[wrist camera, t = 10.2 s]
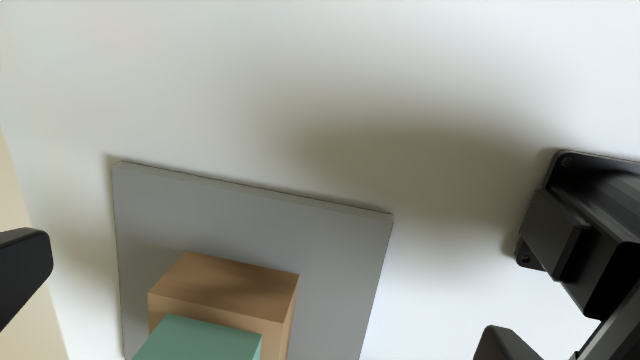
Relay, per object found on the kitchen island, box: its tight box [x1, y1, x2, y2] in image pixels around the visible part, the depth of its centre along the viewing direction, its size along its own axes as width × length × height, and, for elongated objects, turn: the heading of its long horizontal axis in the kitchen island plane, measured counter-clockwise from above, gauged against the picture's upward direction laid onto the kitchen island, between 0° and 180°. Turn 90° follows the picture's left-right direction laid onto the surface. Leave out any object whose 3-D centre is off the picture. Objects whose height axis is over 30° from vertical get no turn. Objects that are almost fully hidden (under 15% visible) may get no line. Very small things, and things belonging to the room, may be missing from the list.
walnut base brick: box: [148, 250, 300, 360], centre depth 21 cm, size 7×7×4 cm
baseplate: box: [111, 161, 393, 360], centre depth 24 cm, size 16×16×1 cm
